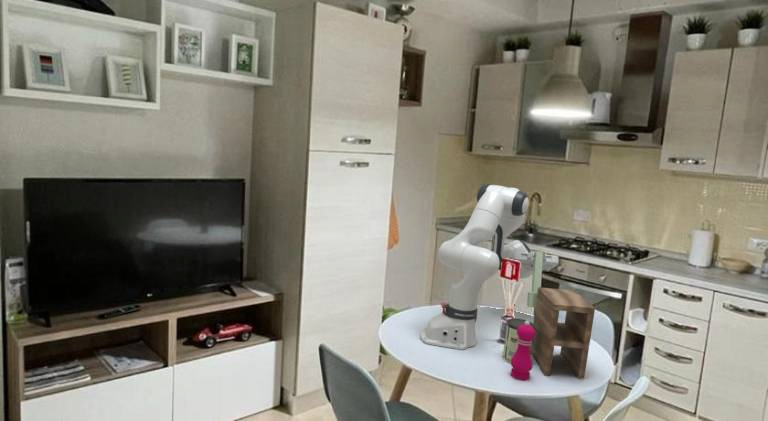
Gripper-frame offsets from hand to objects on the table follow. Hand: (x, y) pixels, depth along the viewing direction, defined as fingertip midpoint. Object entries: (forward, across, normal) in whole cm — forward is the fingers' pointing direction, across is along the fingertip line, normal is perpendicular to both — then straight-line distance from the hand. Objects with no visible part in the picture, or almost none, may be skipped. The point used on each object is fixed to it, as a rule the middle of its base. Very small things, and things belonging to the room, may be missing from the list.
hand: (539, 254), depth 221 cm
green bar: (-6, 0, +9) cm, 11 cm away
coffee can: (+13, -14, +46) cm, 50 cm away
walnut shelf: (+15, 0, +47) cm, 49 cm away
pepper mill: (+25, -16, +53) cm, 61 cm away
